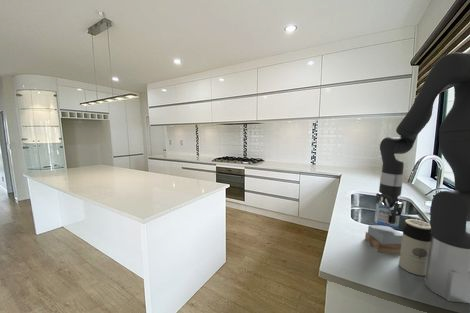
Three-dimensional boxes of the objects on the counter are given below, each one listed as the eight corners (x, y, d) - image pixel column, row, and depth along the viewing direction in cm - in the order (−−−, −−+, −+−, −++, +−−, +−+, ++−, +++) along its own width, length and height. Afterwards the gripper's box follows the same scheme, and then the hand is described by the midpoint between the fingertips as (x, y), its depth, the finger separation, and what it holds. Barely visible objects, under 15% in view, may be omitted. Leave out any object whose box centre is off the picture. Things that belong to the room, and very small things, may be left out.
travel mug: (398, 259, 78) (404, 216, 76) (426, 267, 74) (432, 222, 71) (399, 269, 72) (404, 223, 70) (428, 279, 67) (436, 231, 65)
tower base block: (403, 254, 82) (404, 245, 82) (378, 252, 83) (379, 244, 83) (387, 241, 92) (388, 233, 92) (365, 240, 93) (365, 232, 93)
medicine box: (376, 224, 86) (378, 206, 85) (374, 220, 90) (376, 202, 89) (398, 228, 83) (401, 209, 82) (395, 224, 87) (397, 205, 86)
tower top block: (403, 244, 83) (404, 235, 82) (382, 244, 83) (383, 235, 82) (386, 233, 92) (387, 225, 91) (367, 233, 92) (368, 225, 91)
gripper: (413, 188, 77) (408, 228, 79) (388, 179, 91) (384, 213, 93) (393, 187, 77) (388, 227, 80) (371, 179, 92) (368, 213, 94)
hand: (386, 219), depth 86 cm, fingers closed on medicine box, 5 cm apart
